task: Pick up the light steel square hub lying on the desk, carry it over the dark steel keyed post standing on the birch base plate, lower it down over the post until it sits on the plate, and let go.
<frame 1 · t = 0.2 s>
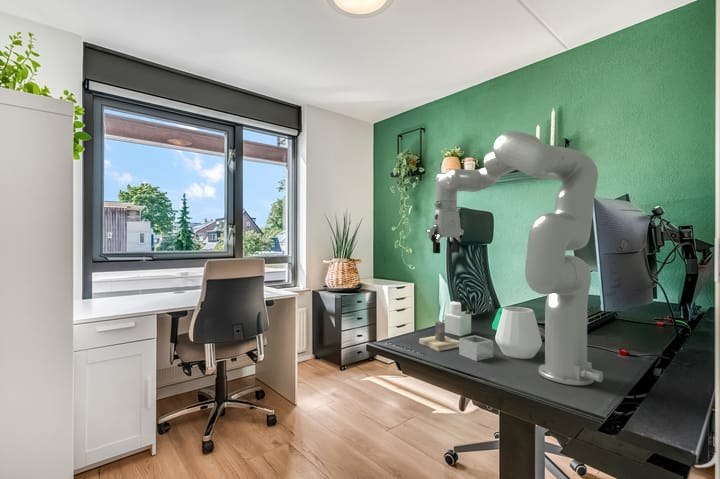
hand: (446, 252, 131), 31 cm above the table, tool pointing down, fingers open, 9 cm apart
medicine bottle: (457, 333, 135), on the table
post block: (440, 344, 120), on the table
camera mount: (510, 335, 133), on the table
hub: (475, 355, 109), on the table
cup: (518, 354, 111), on the table
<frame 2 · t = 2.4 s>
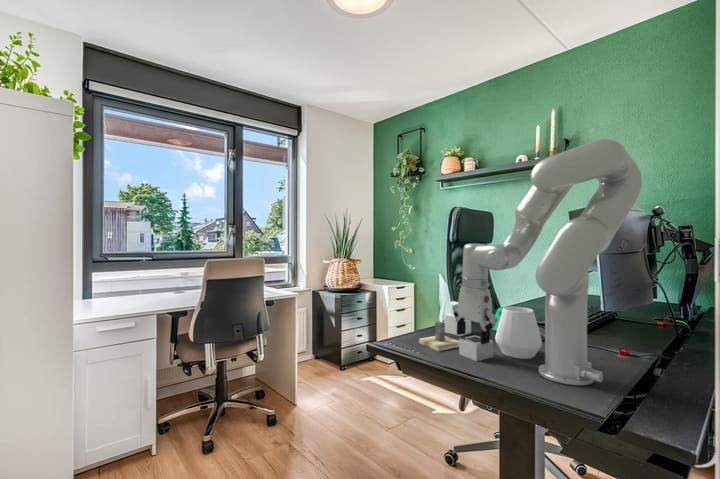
hand: (472, 338, 110), 5 cm above the table, tool pointing down, fingers open, 9 cm apart
hub: (475, 355, 109), on the table, touching gripper
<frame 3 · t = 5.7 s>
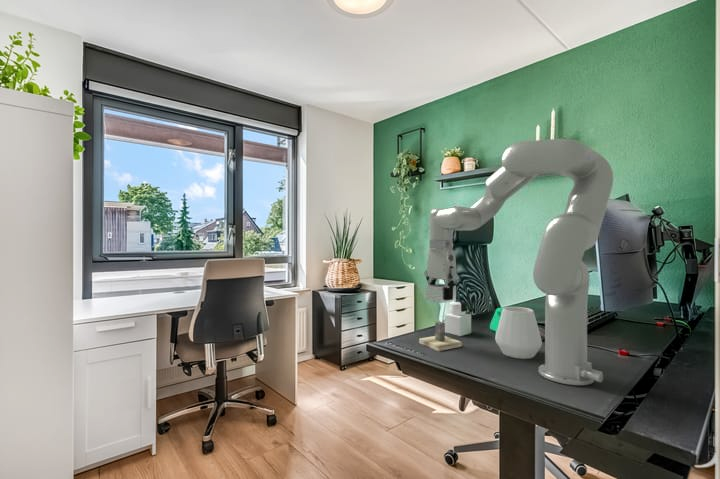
hand: (440, 297, 120), 16 cm above the table, tool pointing down, fingers closed on hub, 7 cm apart
hub: (440, 300, 120), point 15 cm above the table, touching gripper
when the fingers open (3 cm above the table, at t = 8.4 s): hub stays where it is, resting on post block.
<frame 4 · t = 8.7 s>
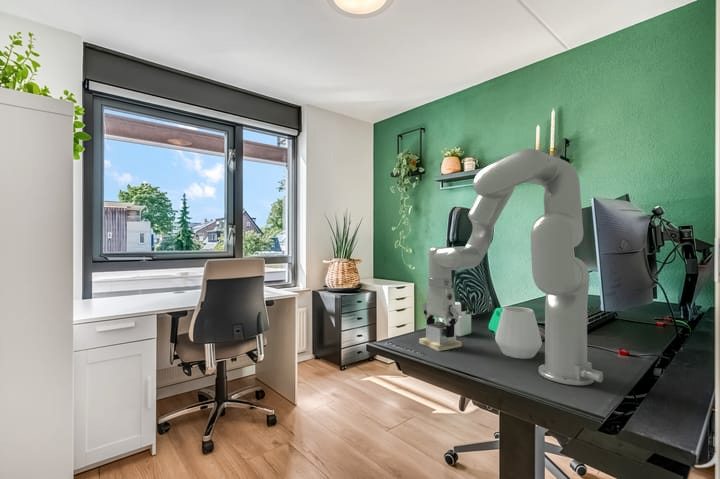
hand: (440, 333, 120), 4 cm above the table, tool pointing down, fingers open, 9 cm apart
hub: (440, 340, 120), point 1 cm above the table, touching post block
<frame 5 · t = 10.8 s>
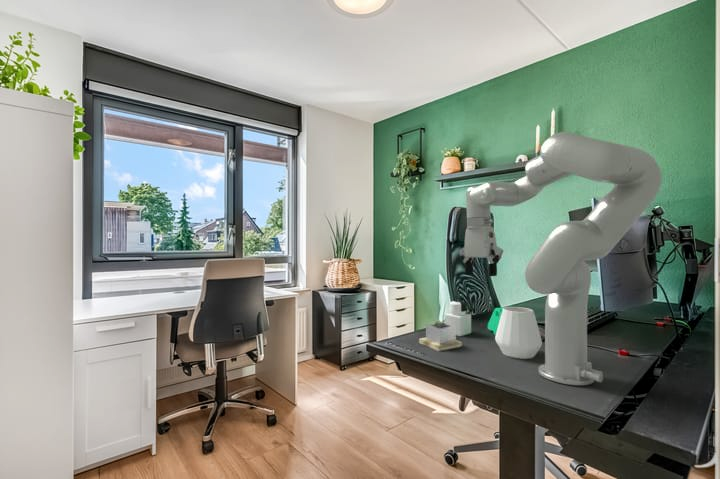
hand: (480, 275, 117), 24 cm above the table, tool pointing down, fingers open, 9 cm apart
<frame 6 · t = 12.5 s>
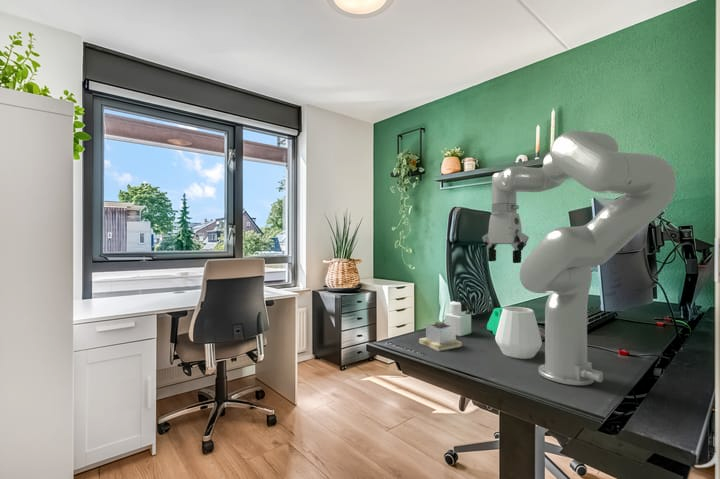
hand: (504, 261, 116), 28 cm above the table, tool pointing down, fingers open, 9 cm apart
at the end: hub 0.3 cm off-centre on the post block, point 1.5 cm above the post block's base; the gripper is holding nothing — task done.
